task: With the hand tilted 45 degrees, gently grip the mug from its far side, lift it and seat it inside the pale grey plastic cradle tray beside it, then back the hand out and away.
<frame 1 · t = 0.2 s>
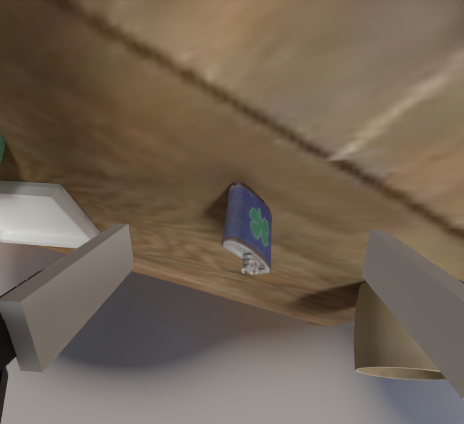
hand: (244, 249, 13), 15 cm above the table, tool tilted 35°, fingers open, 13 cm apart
plant pot: (377, 284, 51), on the table
flask: (253, 201, 34), on the table
cradle tray: (31, 211, 41), on the table
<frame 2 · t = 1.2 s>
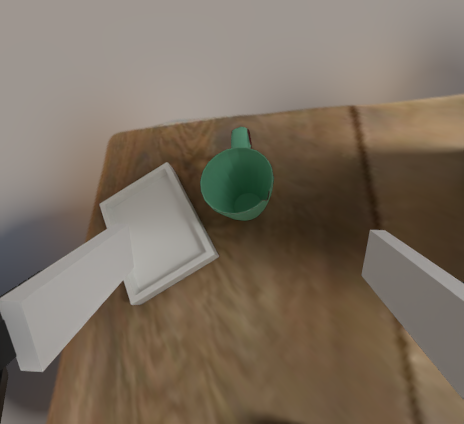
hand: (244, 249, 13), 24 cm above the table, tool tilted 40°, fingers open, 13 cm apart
mug: (248, 193, 41), on the table
cradle tray: (158, 230, 43), on the table
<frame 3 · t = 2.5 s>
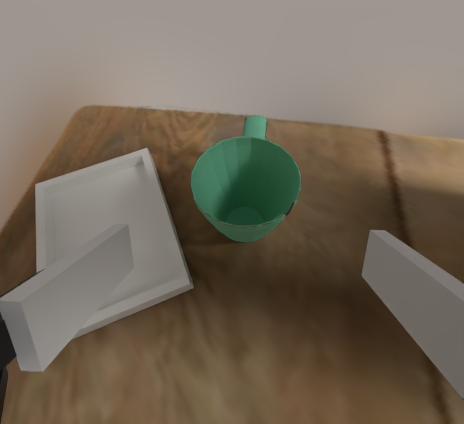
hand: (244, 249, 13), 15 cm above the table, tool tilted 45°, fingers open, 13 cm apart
mug: (247, 208, 31), on the table
cradle tray: (113, 235, 30), on the table
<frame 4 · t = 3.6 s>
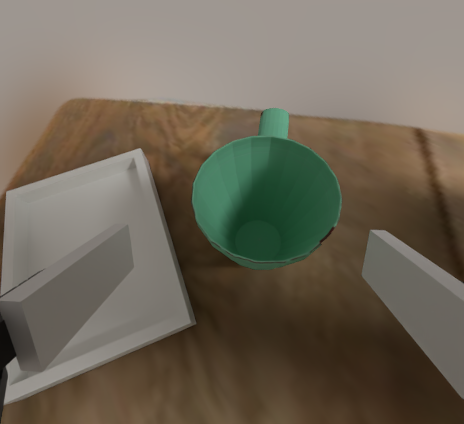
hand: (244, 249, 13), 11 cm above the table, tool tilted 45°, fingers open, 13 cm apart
mug: (260, 221, 26), on the table
cradle tray: (99, 255, 25), on the table
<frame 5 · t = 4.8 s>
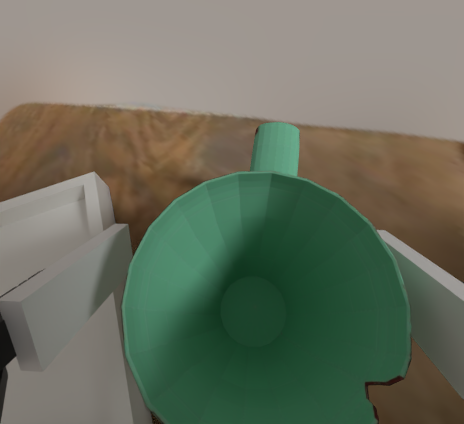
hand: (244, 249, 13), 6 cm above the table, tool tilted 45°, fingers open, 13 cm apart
mug: (256, 276, 18), on the table
cradle tray: (26, 328, 17), on the table
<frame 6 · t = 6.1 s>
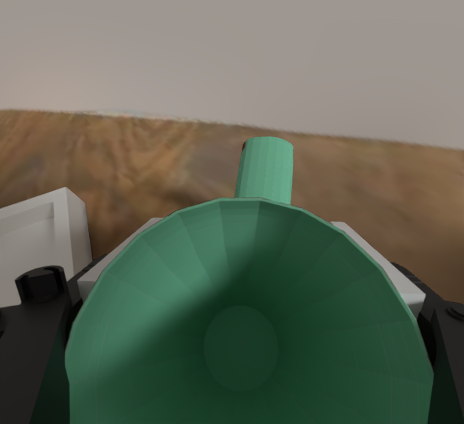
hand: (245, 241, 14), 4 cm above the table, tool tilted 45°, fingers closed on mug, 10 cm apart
mug: (245, 305, 16), on the table, touching gripper
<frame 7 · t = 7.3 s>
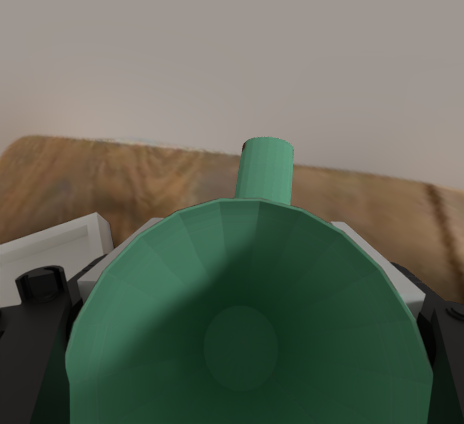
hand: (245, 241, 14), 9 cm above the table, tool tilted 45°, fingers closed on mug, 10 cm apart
mug: (245, 305, 16), point 5 cm above the table, touching gripper
cradle tray: (34, 360, 19), on the table
when the fingers open (6 cm above the table, at t = 11.3 s): mug drops 1 cm, resting on cradle tray.
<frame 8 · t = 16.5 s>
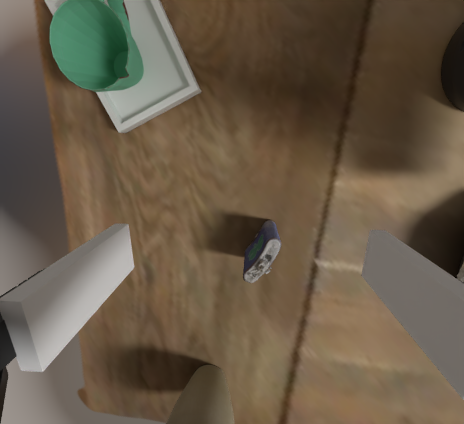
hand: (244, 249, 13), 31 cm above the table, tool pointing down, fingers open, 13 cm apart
mug: (129, 51, 37), point 1 cm above the table, touching cradle tray
plant pot: (209, 374, 58), on the table
flask: (260, 239, 46), on the table
cradle tray: (131, 51, 38), on the table
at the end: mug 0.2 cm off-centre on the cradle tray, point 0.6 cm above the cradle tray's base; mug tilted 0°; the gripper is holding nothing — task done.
